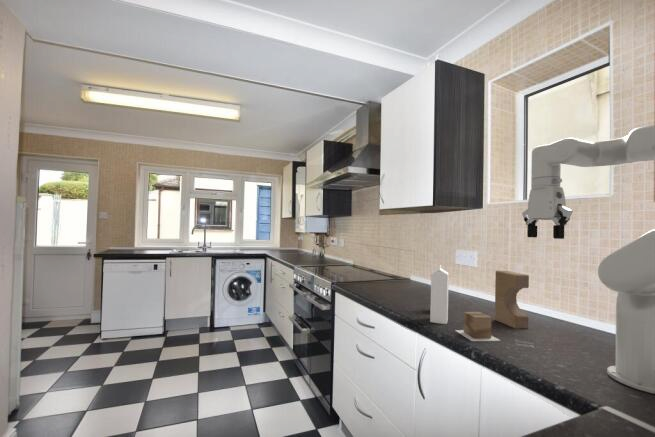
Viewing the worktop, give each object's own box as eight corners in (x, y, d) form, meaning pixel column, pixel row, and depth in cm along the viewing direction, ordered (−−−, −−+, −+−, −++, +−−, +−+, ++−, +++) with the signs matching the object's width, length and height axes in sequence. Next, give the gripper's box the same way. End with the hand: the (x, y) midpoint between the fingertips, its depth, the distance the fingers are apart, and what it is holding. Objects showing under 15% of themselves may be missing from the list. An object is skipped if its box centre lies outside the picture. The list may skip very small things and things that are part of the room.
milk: (430, 322, 115) (430, 265, 116) (432, 318, 121) (432, 263, 121) (446, 324, 112) (447, 266, 113) (448, 320, 118) (448, 264, 119)
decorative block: (529, 329, 110) (529, 275, 111) (515, 329, 109) (516, 275, 110) (506, 319, 121) (507, 270, 122) (494, 320, 120) (494, 270, 121)
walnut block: (491, 338, 99) (491, 317, 99) (474, 338, 98) (474, 317, 98) (479, 331, 105) (479, 311, 105) (463, 332, 104) (464, 312, 104)
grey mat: (500, 341, 97) (500, 340, 97) (472, 342, 96) (472, 341, 96) (480, 330, 107) (480, 329, 107) (454, 331, 106) (454, 330, 106)
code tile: (545, 353, 88) (545, 352, 88) (506, 346, 93) (506, 345, 93) (541, 343, 97) (541, 342, 97) (505, 336, 102) (505, 335, 102)
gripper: (582, 181, 87) (581, 239, 87) (533, 188, 104) (533, 237, 104) (559, 179, 86) (559, 238, 86) (514, 187, 103) (513, 236, 103)
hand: (544, 237), depth 95 cm, fingers open, 9 cm apart
